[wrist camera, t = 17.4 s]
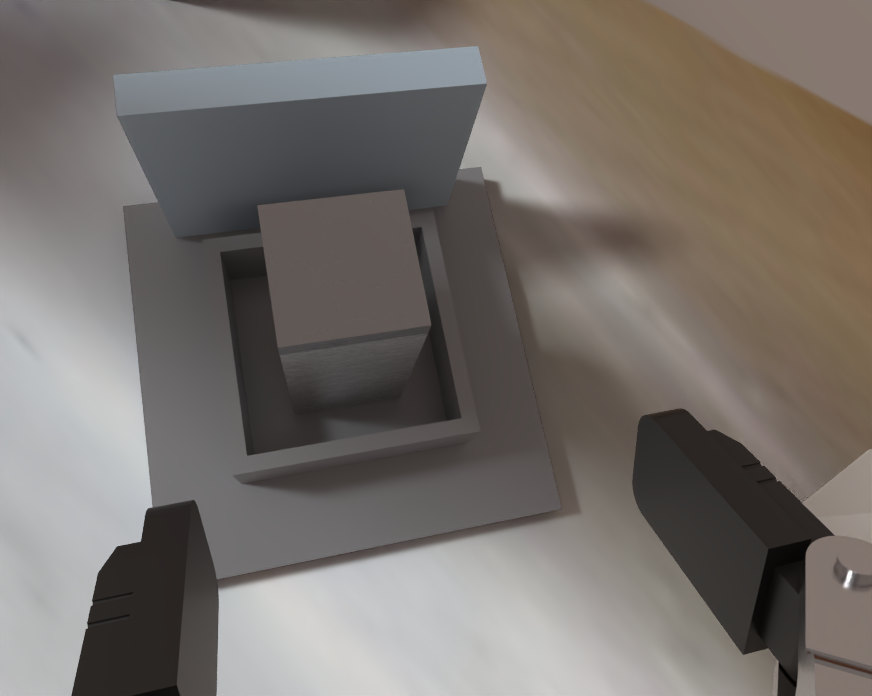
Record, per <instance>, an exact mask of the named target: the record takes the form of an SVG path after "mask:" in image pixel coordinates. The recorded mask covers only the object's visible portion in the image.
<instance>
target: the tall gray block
mask: <svg viewBox="0 0 872 696" xmlns="http://www.w3.org/2000/svg"><path fill="white" fill-rule="evenodd" d="M257 207H258V214H259V221H260V228H261V235H262V242H263V249H264V256H265V263H266V269H267V276H268V283H269V290H270V297H271V304H272V311H273V318H274V325H275V332H276V339H277V346H278V350H279V354H280V358H281V362H282V366H283V370H284V374H285V378H286V382H287V386H288V390H289V394H290V398H291V402H292V406H293V410H294V414H295V415H300V414H306V413H312V412H318V411H324V410H330V409H336V408H342V407H348V406H355V405H361V404H367V403H373V402H379V401H385V400H391V399H397V398H401V395H402V393H403V391H404V388H405V386H406V384H407V381H408V379H409V377H410V374H411V372H412V370H413V367H414V365H415V363H416V360H417V358H418V356H419V353H420V351H421V349H422V346H423V344H424V342H425V339H426V337H427V335H428V332H429V330H430V328H431V320H430V315H429V310H428V305H427V300H426V295H425V290H424V285H423V280H422V275H421V270H420V265H419V260H418V255H417V250H416V245H415V241H414V236H413V231H412V226H411V221H410V216H409V211H408V206H407V201H406V196H405V191H404V189H401V190H392V191H382V192H373V193H364V194H355V195H346V196H337V197H328V198H319V199H310V200H301V201H292V202H283V203H274V204H264V205H257Z"/></svg>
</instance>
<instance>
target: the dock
mask: <svg viewBox="0 0 872 696" xmlns="http://www.w3.org/2000/svg"><path fill="white" fill-rule="evenodd" d="M113 81H114V91H115V101H116V111H117V117H118V119H119V121H120V123H121V125H122V127H123V130H124V132H125V134H126V136H127V138H128V140H129V142H130V144H131V146H132V148H133V150H134V152H135V154H136V156H137V158H138V161H139V163H140V165H141V167H142V169H143V171H144V173H145V175H146V177H147V179H148V181H149V183H150V185H151V187H152V190H153V192H154V194H155V196H156V198H157V200H158V202H159V203H150V204H141V205H132V206H123V209H124V220H125V230H126V240H127V250H128V260H129V271H130V281H131V291H132V301H133V311H134V321H135V332H136V342H137V352H138V362H139V372H140V383H141V393H142V403H143V413H144V423H145V434H146V444H147V454H148V464H149V474H150V484H151V495H152V505H153V507H158V506H163V505H169V504H174V503H179V502H184V501H190V500H195V502H196V504H197V506H198V509H199V513H200V516H201V520H202V524H203V527H204V531H205V534H206V538H207V542H208V545H209V549H210V552H211V556H212V560H213V563H214V567H215V572H216V578H217V579H222V578H227V577H232V576H237V575H242V574H247V573H252V572H256V571H261V570H266V569H271V568H276V567H281V566H286V565H291V564H296V563H300V562H305V561H310V560H315V559H320V558H325V557H330V556H335V555H340V554H344V553H349V552H354V551H359V550H364V549H369V548H374V547H379V546H384V545H388V544H393V543H398V542H403V541H408V540H413V539H418V538H423V537H428V536H432V535H437V534H442V533H447V532H452V531H457V530H462V529H467V528H472V527H476V526H481V525H486V524H491V523H496V522H501V521H506V520H511V519H516V518H520V517H525V516H530V515H535V514H540V513H545V512H550V511H555V510H559V509H562V507H561V503H560V499H559V495H558V490H557V486H556V482H555V478H554V473H553V469H552V465H551V461H550V457H549V452H548V448H547V444H546V440H545V435H544V431H543V427H542V423H541V419H540V414H539V410H538V406H537V402H536V397H535V393H534V389H533V385H532V381H531V376H530V372H529V368H528V364H527V359H526V355H525V351H524V347H523V343H522V338H521V334H520V330H519V326H518V321H517V317H516V313H515V309H514V305H513V300H512V296H511V292H510V288H509V283H508V279H507V275H506V271H505V267H504V262H503V258H502V254H501V250H500V245H499V241H498V237H497V233H496V229H495V224H494V220H493V216H492V212H491V207H490V203H489V199H488V195H487V191H486V186H485V182H484V178H483V174H482V169H481V167H476V168H467V169H459V168H460V165H461V161H462V158H463V155H464V152H465V149H466V146H467V143H468V140H469V137H470V134H471V131H472V128H473V125H474V122H475V119H476V116H477V113H478V110H479V107H480V103H481V100H482V97H483V94H484V91H485V88H486V85H487V81H486V77H485V73H484V69H483V65H482V61H481V57H480V53H479V49H478V46H474V47H461V48H448V49H435V50H423V51H410V52H397V53H384V54H372V55H359V56H346V57H333V58H321V59H308V60H295V61H282V62H269V63H257V64H244V65H231V66H218V67H206V68H193V69H180V70H167V71H155V72H142V73H129V74H116V75H113ZM401 189H404V191H405V196H406V201H407V206H408V211H409V216H410V221H411V226H412V231H413V236H414V241H415V245H416V250H417V255H418V260H419V265H420V270H421V275H422V280H423V285H424V290H425V295H426V300H427V305H428V310H429V315H430V320H431V328H430V330H429V332H428V335H427V337H426V339H425V342H424V344H423V346H422V349H421V351H420V353H419V356H418V358H417V360H416V363H415V365H414V367H413V370H412V372H411V374H410V377H409V379H408V381H407V384H406V386H405V388H404V391H403V393H402V395H401V398H397V399H391V400H385V401H379V402H373V403H367V404H361V405H355V406H348V407H342V408H336V409H330V410H324V411H318V412H312V413H306V414H300V415H295V414H294V410H293V406H292V402H291V398H290V394H289V390H288V386H287V382H286V378H285V374H284V370H283V366H282V362H281V358H280V354H279V350H278V346H277V339H276V332H275V325H274V318H273V311H272V304H271V297H270V290H269V283H268V276H267V269H266V263H265V256H264V249H263V242H262V235H261V228H260V221H259V214H258V207H257V205H264V204H274V203H283V202H292V201H301V200H310V199H319V198H328V197H337V196H346V195H355V194H364V193H373V192H382V191H392V190H401Z"/></svg>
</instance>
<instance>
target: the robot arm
mask: <svg viewBox="0 0 872 696" xmlns="http://www.w3.org/2000/svg"><path fill="white" fill-rule="evenodd" d="M633 492H634V496H635V500H636V503H637V505H638V508H639V509H640V511H641V513H642V515H643V516H644V517H645V519H646V520H647V522H648V523H649V524H650V526H651V527H652V529H653V530H654V531H655V533H656V534H657V536H658V537H659V538H660V540H661V541H662V542H663V544H664V545H665V547H666V548H667V549H668V551H669V552H670V554H671V555H672V556H673V558H674V559H675V561H676V562H677V563H678V565H679V566H680V568H681V569H682V570H683V572H684V573H685V575H686V576H687V577H688V579H689V580H690V582H691V583H692V584H693V586H694V587H695V589H696V590H697V591H698V593H699V594H700V595H701V597H702V598H703V600H704V601H705V602H706V604H707V605H708V607H709V608H710V609H711V611H712V612H713V614H714V615H715V616H716V618H717V619H718V621H719V622H720V623H721V625H722V626H723V628H724V629H725V630H726V632H727V633H728V635H729V636H730V637H731V639H732V640H733V641H734V643H735V644H736V646H737V647H738V648H739V650H740V651H741V653H742V654H743V655H744V654H748V653H752V652H756V651H759V650H763V649H767V648H769V649H770V651H771V652H772V653H773V655H774V656H775V657H776V659H777V660H776V663H775V667H774V672H773V694H772V696H872V543H869V542H867V541H864V540H861V539H857V538H853V537H848V536H835V535H834V534H833V533H832V532H831V531H830V530H829V529H828V528H827V527H826V526H825V525H824V524H823V523H822V522H821V521H820V520H819V519H818V518H817V517H816V516H815V515H814V514H812V513H811V512H810V511H809V510H808V509H807V508H806V507H805V506H804V505H803V504H802V503H801V502H800V501H799V500H798V499H797V498H796V497H795V496H794V495H793V494H792V493H791V492H790V491H789V490H788V489H787V488H786V487H785V486H784V485H783V484H782V483H781V482H780V481H778V482H777V481H776V477H775V476H774V475H773V474H772V473H771V472H770V471H769V470H768V469H767V468H766V467H765V466H761V464H760V461H759V460H758V459H756V458H755V457H754V456H753V455H752V454H751V453H750V452H749V451H748V450H747V449H746V448H745V447H744V446H743V445H742V444H741V443H739V442H737V441H735V440H733V439H732V438H730V437H728V436H726V435H724V434H722V433H720V432H719V431H717V430H711V431H706V430H705V428H704V427H703V426H702V425H701V424H700V423H699V422H698V421H697V420H696V419H695V418H694V417H693V416H692V415H691V414H690V413H689V412H688V411H686V410H685V409H675V410H670V411H664V412H659V413H654V414H649V415H644V416H642V417H641V419H640V421H639V425H638V433H637V442H636V452H635V461H634V470H633ZM92 602H93V606H91V608H90V613H89V618H88V622H87V624H88V629H86V631H85V636H84V641H83V645H82V650H81V654H80V659H79V663H78V668H77V673H76V677H75V682H74V686H73V691H72V696H216V691H217V650H218V610H219V598H218V585H217V578H216V572H215V567H214V563H213V560H212V556H211V552H210V549H209V545H208V542H207V538H206V534H205V531H204V527H203V524H202V520H201V516H200V513H199V509H198V506H197V504H196V502H195V500H190V501H184V502H179V503H174V504H169V505H163V506H158V507H153V508H148V509H147V511H146V515H145V520H144V527H143V533H142V539H141V542H137V543H132V544H127V545H122V546H117V547H116V549H115V550H114V552H113V553H112V554H111V556H110V557H109V559H108V560H107V561H106V563H105V564H104V566H103V567H102V568H101V570H100V571H99V573H98V576H97V581H96V586H95V590H94V595H93V599H92Z"/></svg>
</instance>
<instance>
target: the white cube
mask: <svg viewBox="0 0 872 696" xmlns="http://www.w3.org/2000/svg"><path fill="white" fill-rule="evenodd" d="M802 504H803V505H804V506H805V507H806V508H807V509H808V510H809V511H810V512H811V513H812V514H814V515H815V516H816V517H817V518H818V519H819V520H820V521H821V522H822V523H823V524H824V525H825V526H826V527H827V528H828V529H829V530H830V531H831V532H832V533H833V534H834V535H835V536H848V537H853V538H857V539H861V540H864V541H867V542H869V543H872V449H869V450H868V451H866V452H865V453H864V454H863V455H861V456H860V457H859V458H858V459H856V460H855V461H854V462H853V463H851V464H850V465H849V466H848V467H846V468H845V469H844V470H842V471H841V472H840V473H839V474H837V475H836V476H835V477H834V478H832V479H831V480H830V481H829V482H827V483H826V484H825V485H824V486H822V487H821V488H820V489H819V490H817V491H816V492H815V493H814V494H812V495H811V496H810V497H809V498H807V499H806V500H805V501H804V502H802Z"/></svg>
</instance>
